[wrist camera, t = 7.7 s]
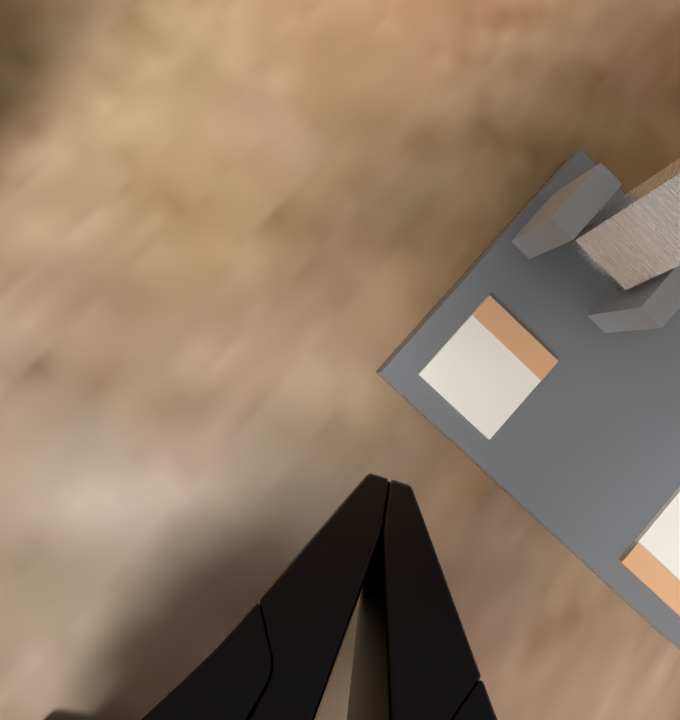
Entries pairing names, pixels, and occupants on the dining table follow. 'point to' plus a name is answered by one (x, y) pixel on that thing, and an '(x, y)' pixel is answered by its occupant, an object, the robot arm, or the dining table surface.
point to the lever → (636, 232)
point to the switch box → (565, 390)
